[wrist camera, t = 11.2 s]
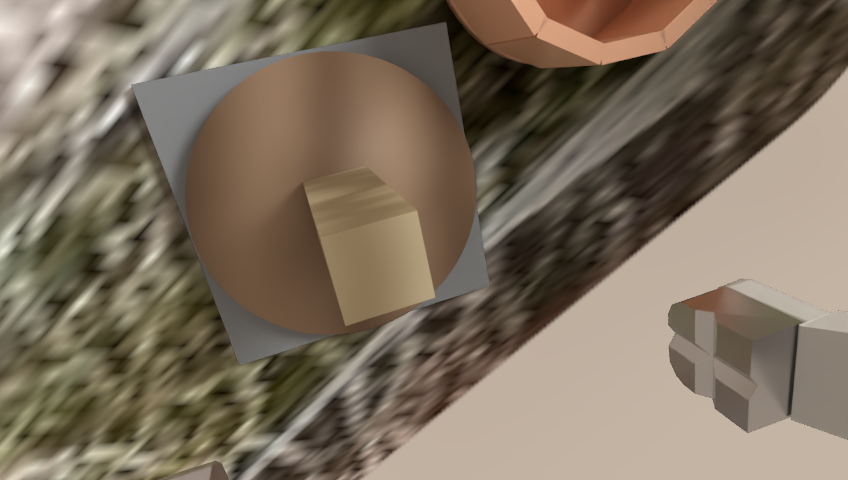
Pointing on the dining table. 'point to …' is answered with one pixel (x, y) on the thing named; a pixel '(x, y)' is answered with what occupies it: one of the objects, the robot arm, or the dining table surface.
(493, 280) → the dining table surface
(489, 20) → the bowl
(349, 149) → the lid
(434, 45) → the mat
